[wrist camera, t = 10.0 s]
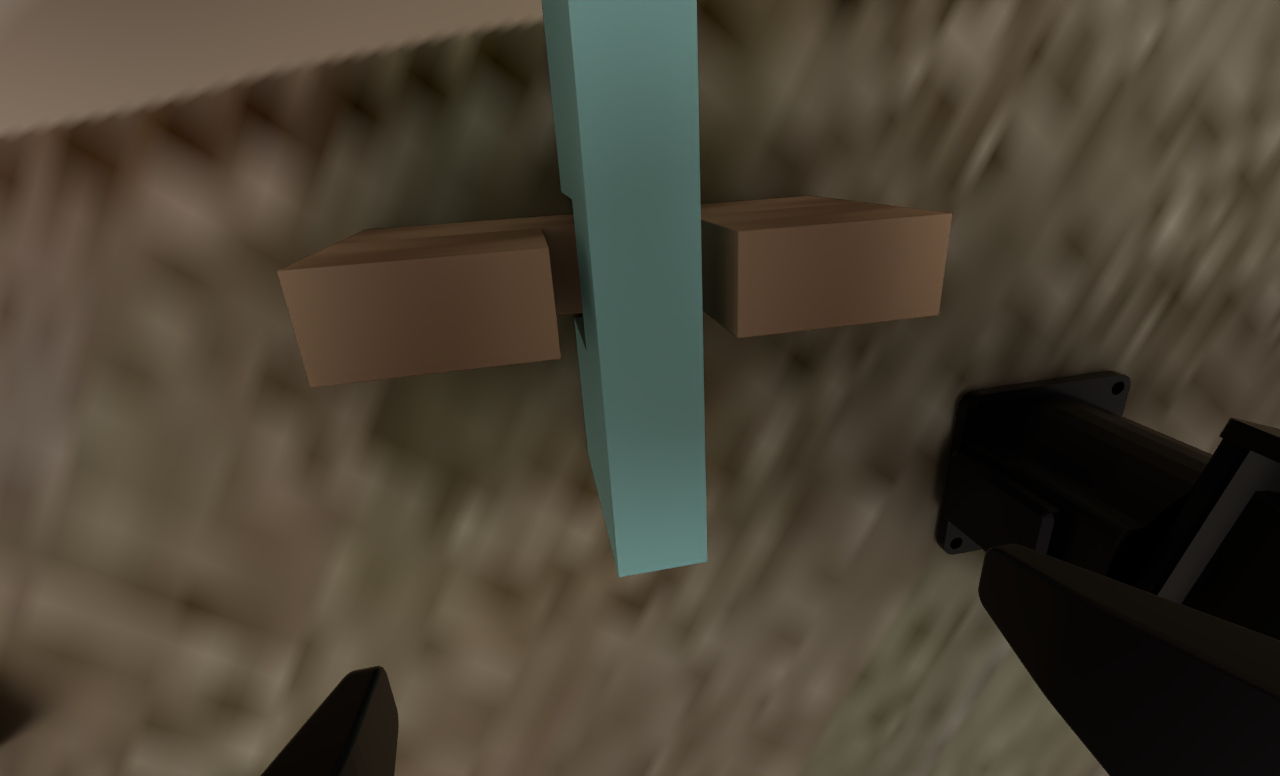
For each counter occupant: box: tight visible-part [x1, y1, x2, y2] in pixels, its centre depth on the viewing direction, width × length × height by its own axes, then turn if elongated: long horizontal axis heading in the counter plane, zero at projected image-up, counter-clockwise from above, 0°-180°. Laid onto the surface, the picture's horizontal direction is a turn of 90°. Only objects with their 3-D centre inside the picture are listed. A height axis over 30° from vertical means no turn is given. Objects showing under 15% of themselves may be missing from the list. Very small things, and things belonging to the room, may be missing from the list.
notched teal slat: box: [542, 0, 707, 577], centre depth 14 cm, size 12×2×6 cm, turn 3°
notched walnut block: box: [277, 196, 952, 388], centre depth 13 cm, size 12×2×6 cm, turn 93°
